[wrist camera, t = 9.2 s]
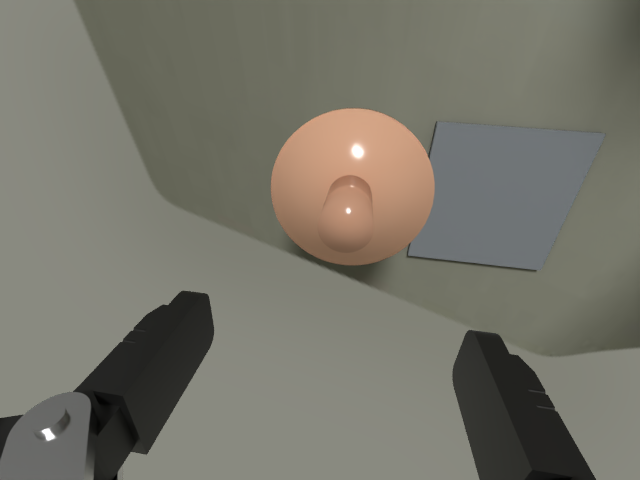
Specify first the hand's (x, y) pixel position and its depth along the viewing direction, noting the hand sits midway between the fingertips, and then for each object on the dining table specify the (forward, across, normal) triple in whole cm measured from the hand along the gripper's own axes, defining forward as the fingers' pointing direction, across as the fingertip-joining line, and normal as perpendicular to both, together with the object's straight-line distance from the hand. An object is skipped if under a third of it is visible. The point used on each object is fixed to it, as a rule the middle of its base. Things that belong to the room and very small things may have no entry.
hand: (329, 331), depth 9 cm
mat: (+24, -14, +3) cm, 28 cm away
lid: (+14, 0, 0) cm, 14 cm away
